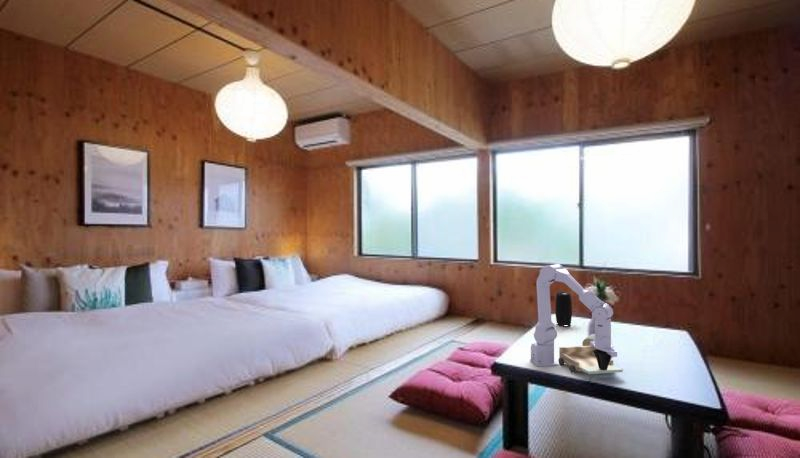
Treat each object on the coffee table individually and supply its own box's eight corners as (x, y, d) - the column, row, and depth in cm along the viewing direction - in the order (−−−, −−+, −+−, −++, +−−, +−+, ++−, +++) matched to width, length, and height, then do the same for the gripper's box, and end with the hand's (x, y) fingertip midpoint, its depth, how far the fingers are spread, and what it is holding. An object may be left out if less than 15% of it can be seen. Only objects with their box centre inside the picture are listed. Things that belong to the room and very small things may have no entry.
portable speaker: (557, 322, 250) (557, 290, 250) (573, 324, 245) (573, 292, 245) (553, 325, 243) (553, 292, 243) (570, 327, 238) (570, 294, 238)
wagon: (574, 375, 165) (574, 357, 165) (557, 363, 179) (557, 347, 179) (615, 372, 167) (615, 355, 167) (595, 361, 181) (595, 345, 181)
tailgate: (580, 369, 164) (588, 374, 158) (580, 367, 164) (588, 371, 159) (612, 367, 166) (622, 372, 160) (612, 365, 166) (622, 369, 160)
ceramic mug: (581, 351, 194) (581, 335, 194) (587, 347, 200) (587, 332, 200) (604, 357, 187) (605, 340, 187) (610, 352, 193) (610, 336, 193)
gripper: (624, 339, 154) (624, 375, 154) (601, 329, 169) (601, 362, 169) (607, 340, 153) (607, 376, 154) (585, 330, 168) (585, 363, 168)
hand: (603, 369), depth 161 cm, fingers closed
